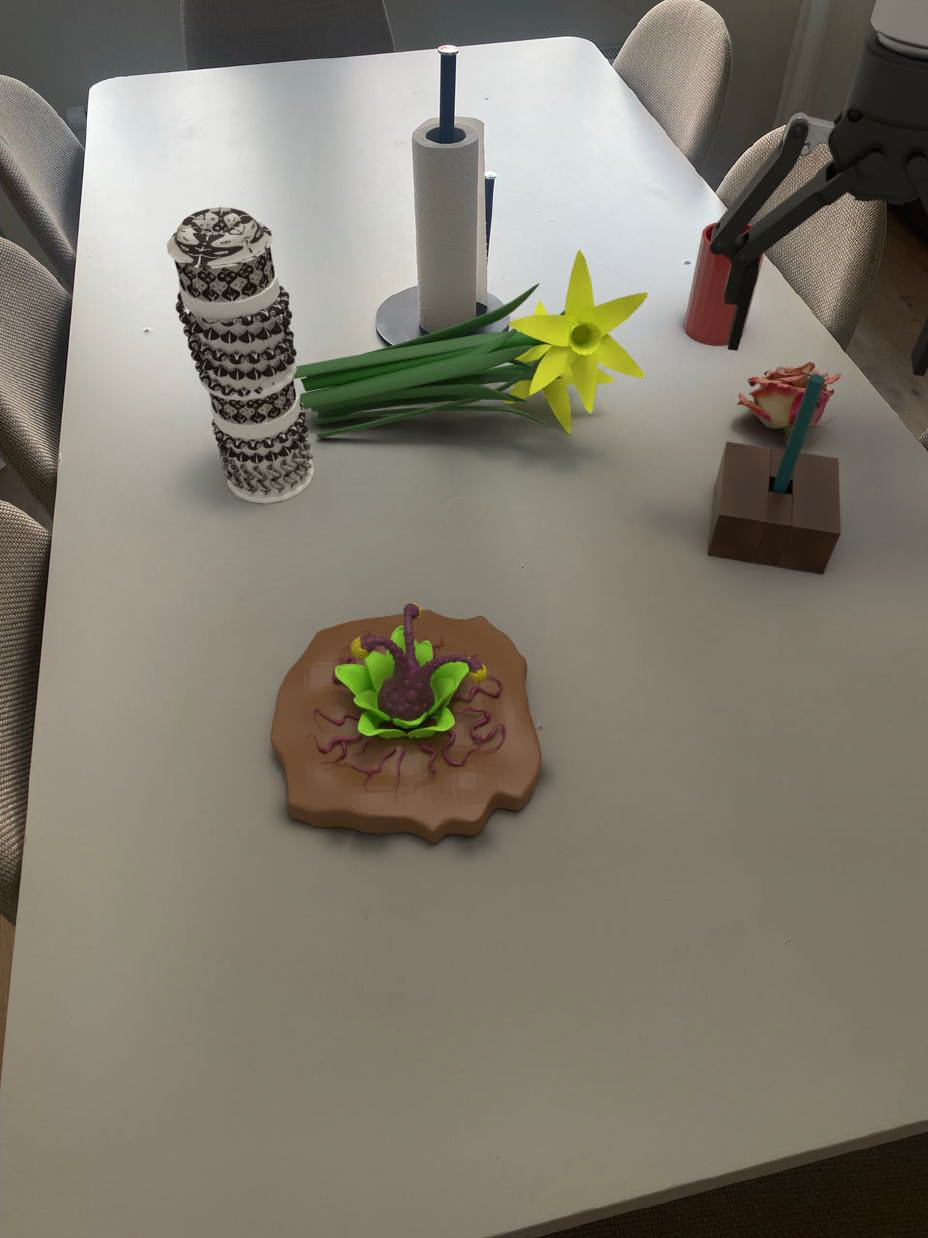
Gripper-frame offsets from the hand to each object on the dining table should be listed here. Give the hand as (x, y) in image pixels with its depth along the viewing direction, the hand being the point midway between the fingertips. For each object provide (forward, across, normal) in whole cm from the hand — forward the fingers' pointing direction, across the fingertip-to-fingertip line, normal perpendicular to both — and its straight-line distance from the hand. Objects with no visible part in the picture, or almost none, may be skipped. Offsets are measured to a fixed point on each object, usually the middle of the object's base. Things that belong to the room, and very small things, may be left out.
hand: (823, 353), depth 70 cm
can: (+18, +7, -32) cm, 37 cm away
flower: (+18, -1, -15) cm, 24 cm away
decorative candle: (+19, +47, +4) cm, 50 cm away
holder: (+18, 0, 0) cm, 18 cm away
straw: (+18, 0, 0) cm, 18 cm away
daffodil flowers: (+19, +31, -7) cm, 37 cm away
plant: (+19, +26, +29) cm, 43 cm away
